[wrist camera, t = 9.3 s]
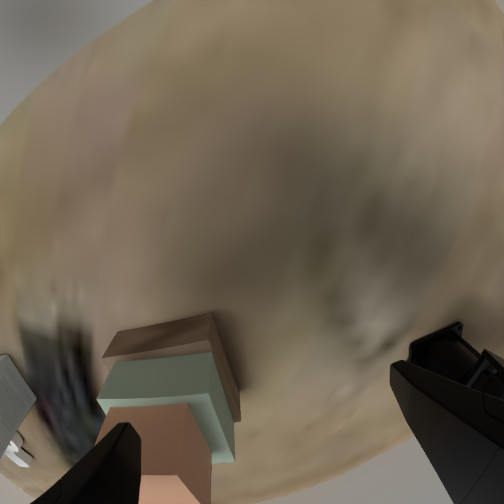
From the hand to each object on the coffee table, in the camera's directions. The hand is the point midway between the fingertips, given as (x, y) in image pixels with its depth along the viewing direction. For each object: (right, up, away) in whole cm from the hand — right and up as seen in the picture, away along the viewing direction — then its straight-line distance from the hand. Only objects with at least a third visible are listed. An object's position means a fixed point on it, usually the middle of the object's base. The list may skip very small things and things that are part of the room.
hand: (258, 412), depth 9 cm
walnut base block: (-6, -4, +15) cm, 16 cm away
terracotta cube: (-6, -6, +7) cm, 11 cm away
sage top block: (-6, -5, +11) cm, 13 cm away
